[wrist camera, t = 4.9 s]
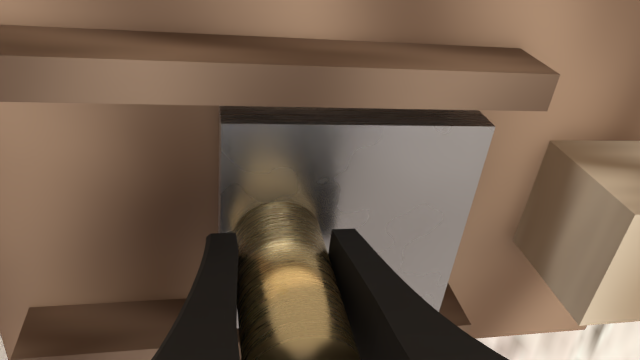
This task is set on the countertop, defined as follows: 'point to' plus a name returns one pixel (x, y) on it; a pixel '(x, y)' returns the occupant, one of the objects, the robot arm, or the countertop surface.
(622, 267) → the block
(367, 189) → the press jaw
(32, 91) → the press board
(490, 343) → the countertop surface
